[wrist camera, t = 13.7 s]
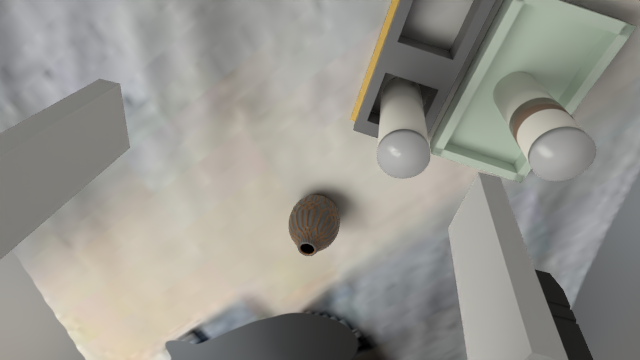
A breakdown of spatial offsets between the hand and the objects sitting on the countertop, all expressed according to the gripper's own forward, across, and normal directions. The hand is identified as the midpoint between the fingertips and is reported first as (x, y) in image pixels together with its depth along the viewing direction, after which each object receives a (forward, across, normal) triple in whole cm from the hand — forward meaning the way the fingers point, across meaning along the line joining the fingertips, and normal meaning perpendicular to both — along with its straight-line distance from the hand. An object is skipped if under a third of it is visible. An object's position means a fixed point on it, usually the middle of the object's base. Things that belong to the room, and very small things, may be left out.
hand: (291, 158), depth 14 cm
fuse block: (+30, +7, -4) cm, 31 cm away
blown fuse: (+29, +18, -5) cm, 35 cm away
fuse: (+30, +7, -8) cm, 32 cm away
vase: (+30, +1, -27) cm, 40 cm away
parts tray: (+30, +18, -5) cm, 36 cm away
